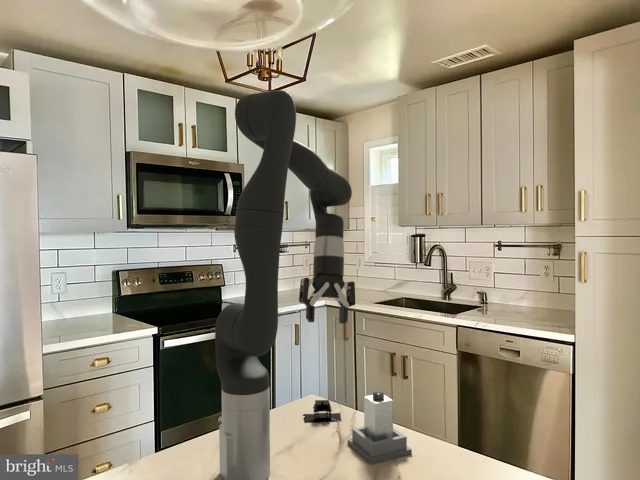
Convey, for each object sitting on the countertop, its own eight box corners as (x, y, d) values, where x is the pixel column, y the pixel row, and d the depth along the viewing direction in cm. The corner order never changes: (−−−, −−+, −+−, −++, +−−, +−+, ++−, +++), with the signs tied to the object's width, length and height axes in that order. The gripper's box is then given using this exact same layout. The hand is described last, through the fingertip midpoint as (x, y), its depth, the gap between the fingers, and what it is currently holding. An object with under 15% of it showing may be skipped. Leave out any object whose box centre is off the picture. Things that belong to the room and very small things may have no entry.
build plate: (298, 426, 113) (297, 408, 113) (297, 414, 120) (297, 397, 120) (348, 425, 114) (348, 407, 114) (345, 413, 121) (345, 396, 121)
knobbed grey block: (375, 450, 97) (374, 398, 97) (364, 441, 102) (364, 391, 101) (393, 446, 99) (392, 395, 99) (381, 437, 103) (381, 389, 103)
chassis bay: (371, 464, 94) (371, 447, 94) (347, 443, 103) (347, 428, 103) (411, 453, 98) (411, 437, 98) (385, 435, 107) (385, 420, 107)
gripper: (309, 251, 108) (306, 321, 105) (361, 257, 114) (360, 323, 111) (296, 255, 115) (293, 321, 112) (346, 260, 121) (345, 323, 118)
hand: (327, 322), depth 111 cm, fingers open, 8 cm apart
